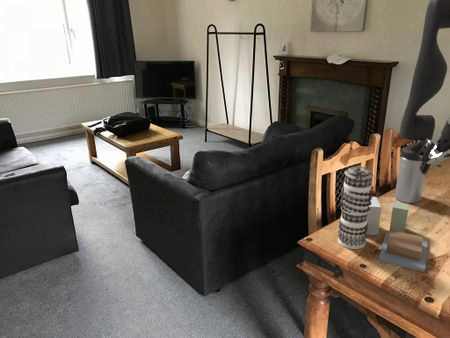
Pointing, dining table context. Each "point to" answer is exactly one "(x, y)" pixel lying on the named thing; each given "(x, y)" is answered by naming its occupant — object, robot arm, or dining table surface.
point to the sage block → (399, 217)
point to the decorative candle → (355, 207)
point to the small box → (373, 217)
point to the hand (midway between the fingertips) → (437, 173)
